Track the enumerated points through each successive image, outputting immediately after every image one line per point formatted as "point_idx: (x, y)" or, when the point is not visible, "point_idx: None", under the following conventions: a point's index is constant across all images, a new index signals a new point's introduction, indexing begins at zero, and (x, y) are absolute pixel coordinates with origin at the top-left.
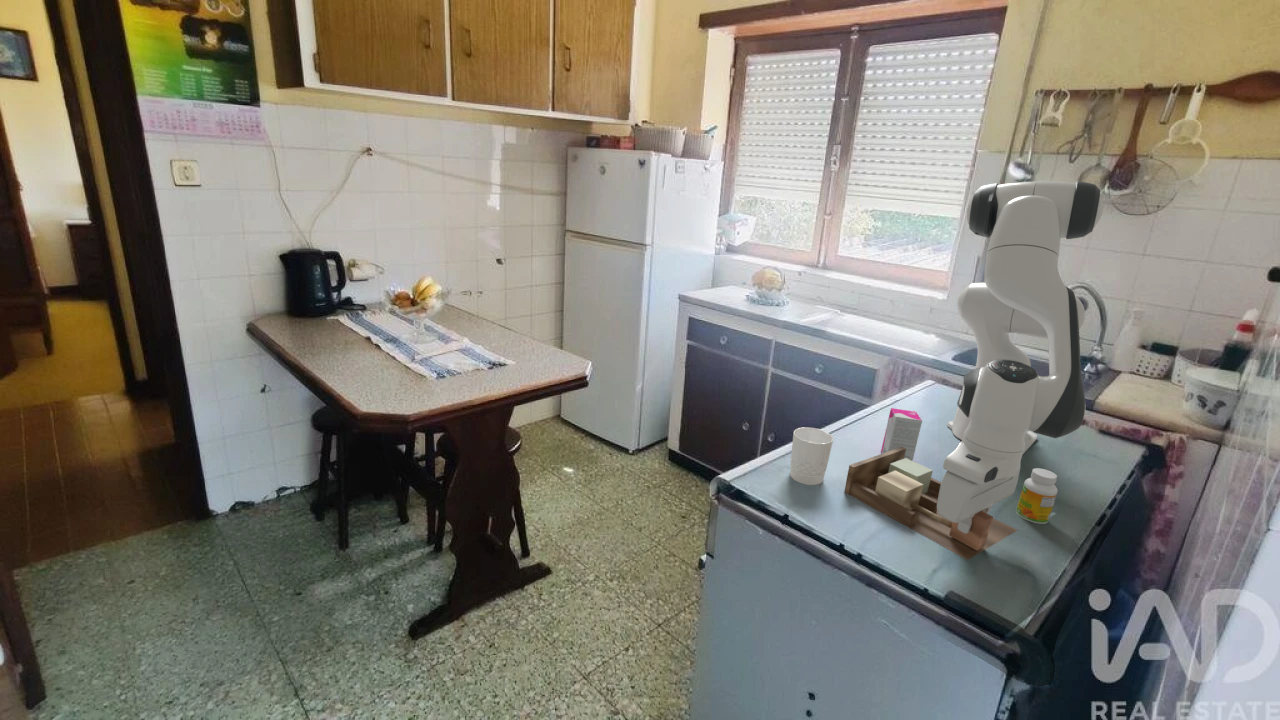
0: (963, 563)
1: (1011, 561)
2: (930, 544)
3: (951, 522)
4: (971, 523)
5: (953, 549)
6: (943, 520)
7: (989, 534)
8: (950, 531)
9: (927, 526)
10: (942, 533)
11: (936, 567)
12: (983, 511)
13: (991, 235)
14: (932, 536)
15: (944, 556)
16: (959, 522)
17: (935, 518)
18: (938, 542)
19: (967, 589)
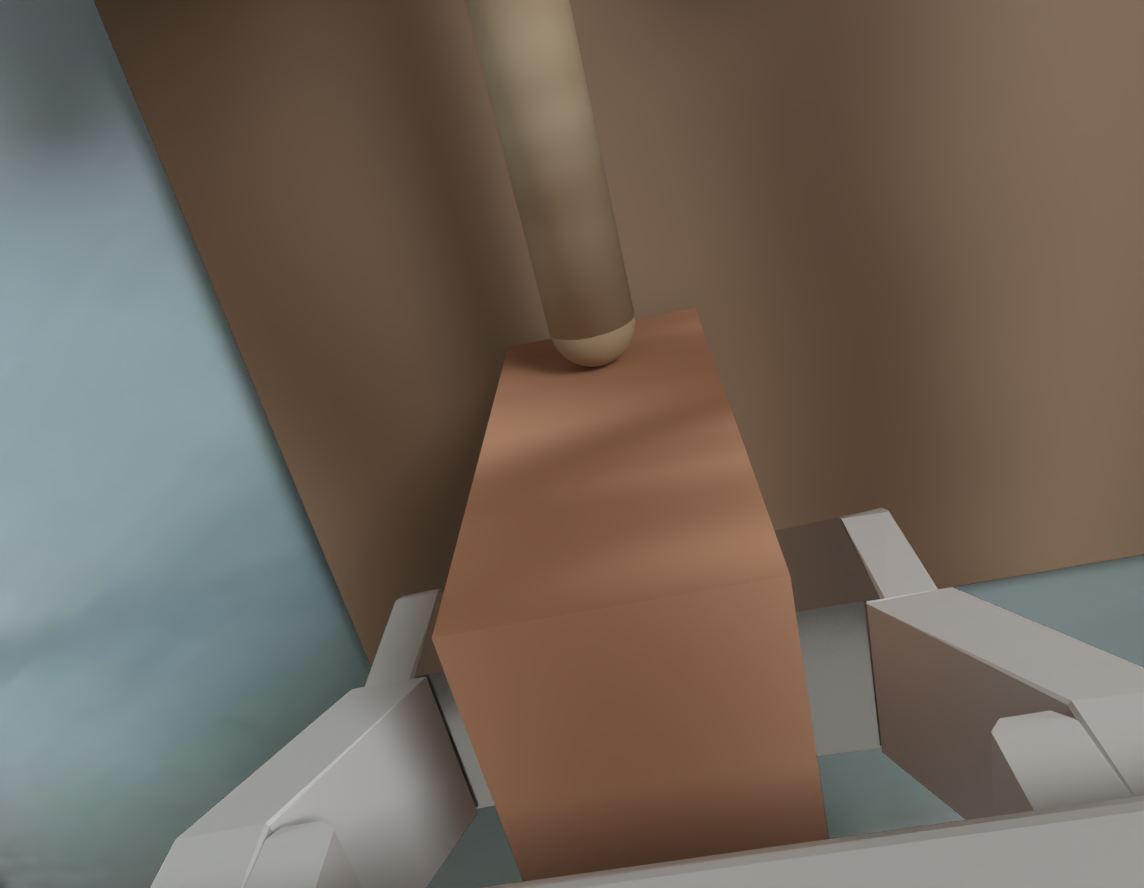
0: (333, 669)
1: (834, 767)
2: (202, 344)
3: (599, 311)
4: (460, 834)
5: (368, 529)
6: (530, 209)
7: (1101, 446)
8: (503, 374)
9: (414, 29)
10: (500, 245)
11: (11, 639)
12: (967, 780)
13: None
14: (299, 263)
15: (215, 546)
16: (372, 673)
17: (486, 70)
18: (283, 386)
19: (108, 872)
